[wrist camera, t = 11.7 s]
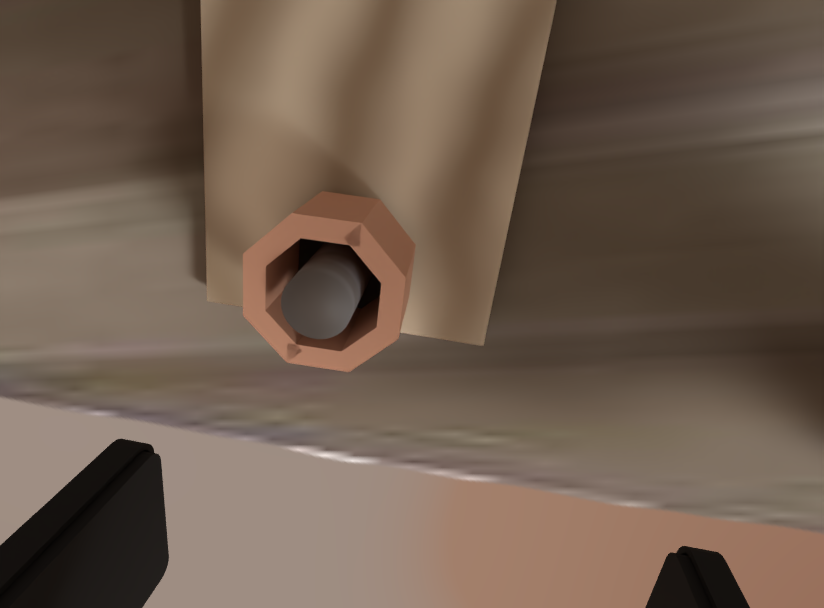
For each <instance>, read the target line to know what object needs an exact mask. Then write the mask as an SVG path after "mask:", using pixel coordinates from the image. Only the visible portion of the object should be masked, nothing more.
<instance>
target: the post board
mask: <svg viewBox="0 0 824 608" xmlns="http://www.w3.org/2000/svg"><path fill="white" fill-rule="evenodd" d="M556 2H557V0H201V44H202V90H203V136H204V183H205V229H206V275H207V301H210V302H216V303H222V304H228V305H234V306H240V307H243V253H244V252H246V251H247V250H248V249H249V248H250V247H252V246H253V245H254V244H255V243H256V242H258V241H259V240H260V239H261V238H262V237H264V236H265V235H266V234H267V233H268V232H270V231H271V230H272V229H273V228H274V227H276V226H277V225H278V224H279V223H280V222H282V221H283V220H284V219H285V218H286V217H288V216H289V215H290V214H291V213H293V212H294V211H295V210H297V209H298V208H300V207H301V206H302V205H304V204H305V203H307V202H308V201H309V200H311V199H312V198H314V197H315V196H316V195H318V194H319V193H320V192H322V191H325V192H332V193H339V194H346V195H353V196H360V197H367V198H374V199H380V200H381V201H382V202H383V204H384V205H385V206H386V208H387V209H388V210H389V211H390V213H391V214H392V215H393V216H394V218H395V219H396V220H397V222H398V223H399V224H400V225H401V227H402V228H403V229H404V231H405V232H406V233H407V234H408V236H409V237H410V238H411V239H412V241H413V242H414V243H415V245H416V248H415V256H414V263H413V271H412V279H411V286H410V294H409V299H408V303H407V307H406V311H405V315H404V319H403V322H402V326H401V330H400V333H406V334H412V335H419V336H425V337H431V338H437V339H443V340H449V341H455V342H462V343H468V344H474V345H480V346H483V345H484V340H485V336H486V331H487V326H488V321H489V317H490V312H491V307H492V303H493V298H494V293H495V289H496V284H497V279H498V274H499V270H500V265H501V260H502V256H503V251H504V246H505V242H506V237H507V232H508V228H509V223H510V218H511V213H512V209H513V204H514V199H515V195H516V190H517V185H518V181H519V176H520V171H521V166H522V162H523V157H524V152H525V148H526V143H527V138H528V134H529V129H530V124H531V119H532V115H533V110H534V105H535V101H536V96H537V91H538V87H539V82H540V77H541V72H542V68H543V63H544V58H545V54H546V49H547V44H548V40H549V35H550V30H551V25H552V21H553V16H554V11H555V7H556ZM380 291H381V282H380V281H379V280H378V279H377V278H376V276H375V275H374V274H373V273H372V272H371V270H370V269H369V268H368V267H367V266H366V264H365V263H364V262H363V261H362V259H361V258H360V257H359V256H358V255H357V253H356V252H355V251H354V250H353V249H352V247H351V246H350V245H344V244H337V243H330V242H323V241H316V240H310V239H303V238H300V243H299V268H298V273H297V274H296V275H295V276H294V277H293V278H292V279H291V280H290V281H289V283H288V284H287V285H286V286H285V288H284V290H283V292H282V296H281V308H282V312H283V315H284V317H285V319H286V321H287V322H288V323H289V325H290V326H291V327H292V328H293V329H294V330H296V331H297V332H298V333H300V334H302V335H304V336H306V337H309V338H313V339H328V338H331V337H334V336H336V335H338V334H339V333H341V332H342V331H343V330H344V329H345V328H346V326H347V325H348V323H349V321H350V319H351V317H352V315H353V313H354V311H355V309H356V308H361V309H362V308H363V307H364V306H366V305H367V304H369V303H370V302H371V301H373V300H374V299H376V298H377V297H378V296H380Z"/></svg>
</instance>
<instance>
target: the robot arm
mask: <svg viewBox="0 0 824 608" xmlns="http://www.w3.org/2000/svg"><path fill="white" fill-rule="evenodd" d="M167 543H168V542H167V529H166V517H165V506H164V492H163V481H162V468H161V459H160V456H159V455H158V454H155V453H154V449H153V447H152V446H151V445H150V444H146V443H141V442H136V441H131V440H125V439H118V440H116V441H114V442H113V443H112V444H110V445H109V446H108V447H107V448H106V449H105V450H104V451H103V452H102V453H101V454H100V455H99V456H98V457H96V458H95V459H94V460H93V461H92V462H91V463H90V464H89V465H88V466H87V467H85V468H84V470H82V471H81V472H80V473H79V474H78V475H77V476H76V477H75V478H74V479H72V480H71V481H70V482H69V483H68V484H67V485H66V486H65V487H64V488H63V489H62V490H60V491H59V492H58V493H57V494H56V495H55V496H54V497H53V498H52V499H51V500H50V501H49V502H48V503H46V504H45V505H44V506H43V507H42V508H41V509H40V510H39V511H38V512H37V513H35V514H34V515H33V516H32V517H31V518H30V519H29V520H28V521H27V522H25V523H24V524H23V525H22V526H21V527H20V528H19V529H18V530H17V531H16V532H15V533H13V534H12V535H11V536H10V537H9V538H8V539H7V540H6V541H5V542H4V543H3V544H2V545H0V608H142V607H143V606H144V604H145V603H146V601H147V600H148V598H149V597H150V595H151V594H152V592H153V591H154V589H155V588H156V586H157V585H158V583H159V582H160V580H161V579H162V577H163V575H164V573H165V571H166V568H167V565H168V559H169V554H168V544H167ZM646 608H750V607H749V605H748V603H747V601H746V599H745V597H744V595H743V593H742V592H741V590H740V588H739V586H738V584H737V582H736V580H735V578H734V576H733V575H732V572H731V570H730V568H729V566H728V565H727V563H726V561H725V559H724V558H723V556H722V555H721V554H719V553H718V552H714V551H708V550H703V549H698V548H692V547H687V546H682V547H680V548H679V550H678V551H677V553H669V554H668V556H667V557H666V559H665V562H664V564H663V567H662V569H661V572H660V574H659V576H658V579H657V581H656V584H655V586H654V588H653V591H652V593H651V596H650V598H649V600H648V603H647V605H646Z"/></svg>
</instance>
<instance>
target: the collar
mask: <svg viewBox="0 0 824 608" xmlns="http://www.w3.org/2000/svg"><path fill="white" fill-rule="evenodd" d="M300 238H303V239H310V240H316V241H323V242H330V243H337V244H344V245H350V246H351V247H352V249H353V250H354V251H355V252H356V253H357V255H358V256H359V257H360V258H361V259H362V261H363V262H364V263H365V264H366V266H367V267H368V268H369V269H370V270H371V272H372V273H373V274H374V275H375V276H376V278H377V279H378V280H379V281H380V282H381V291H380V296H378V297H377V298H376V299H374V300H373V301H371V302H370V303H369V304H367V305H366V306H364V307H363V308H362V309H361V308H356V309H355V311H354V313H353V315H352V317H351V319H350V321H349V323H348V325H347V326H346V328H345V329H344V330H343V331H342V332H341V333H339V334H338V335H336V336H334V337H331V338H328V339H313V338H309V337H306V336H304V335H302V334H300V333H298V332H297V331H296V330H294V329H293V328H292V327H291V326H290V325H289V323H288V322H287V321H286V319H285V317H284V315H283V312H282V308H281V296H282V292H283V290H284V288H285V286H286V285H287V284H288V283H289V281H290V280H291V279H292V278H293V277H294V276H295V275H296V274H297V273H298V268H299V243H300ZM415 248H416V245H415V243H414V242H413V241H412V239H411V238H410V237H409V236H408V234H407V233H406V232H405V231H404V229H403V228H402V227H401V225H400V224H399V223H398V222H397V220H396V219H395V218H394V216H393V215H392V214H391V213H390V211H389V210H388V209H387V208H386V206H385V205H384V204H383V202H382V201H381V200H380V199H374V198H367V197H360V196H353V195H346V194H339V193H332V192H325V191H322V192H320V193H319V194H318V195H316V196H315V197H314V198H312V199H311V200H309V201H308V202H307V203H305V204H304V205H302V206H301V207H300V208H298V209H297V210H295V211H294V212H293V213H291V214H290V215H289V216H288V217H286V218H285V219H284V220H283V221H282V222H280V223H279V224H278V225H277V226H276V227H274V228H273V229H272V230H271V231H270V232H268V233H267V234H266V235H265V236H264V237H262V238H261V239H260V240H259V241H258V242H256V243H255V244H254V245H253V246H252V247H250V248H249V249H248V250H247V251H246V252H244V253H243V316H244V317H245V318H246V319H247V320H248V321H249V322H250V323H251V325H252V326H253V327H254V328H255V329H256V330H257V331H258V332H259V333H260V334H261V335H262V336H263V337H264V338H265V340H266V341H267V342H268V343H269V344H270V345H271V346H272V347H273V348H274V349H275V350H276V351H277V352H278V354H279V355H280V356H281V357H282V358H283V359H284V360H285V361H286V362H287V363H293V364H300V365H306V366H313V367H319V368H326V369H332V370H338V371H345V372H350V371H351V370H353V369H354V368H356V367H357V366H359V365H360V364H362V363H363V362H365V361H366V360H368V359H369V358H371V357H372V356H374V355H375V354H377V353H378V352H380V351H381V350H383V349H384V348H386V347H387V346H389V345H390V344H392V343H393V342H395V341H396V340H398V338H399V334H400V330H401V326H402V322H403V319H404V315H405V311H406V307H407V303H408V299H409V294H410V286H411V279H412V271H413V263H414V256H415Z"/></svg>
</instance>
